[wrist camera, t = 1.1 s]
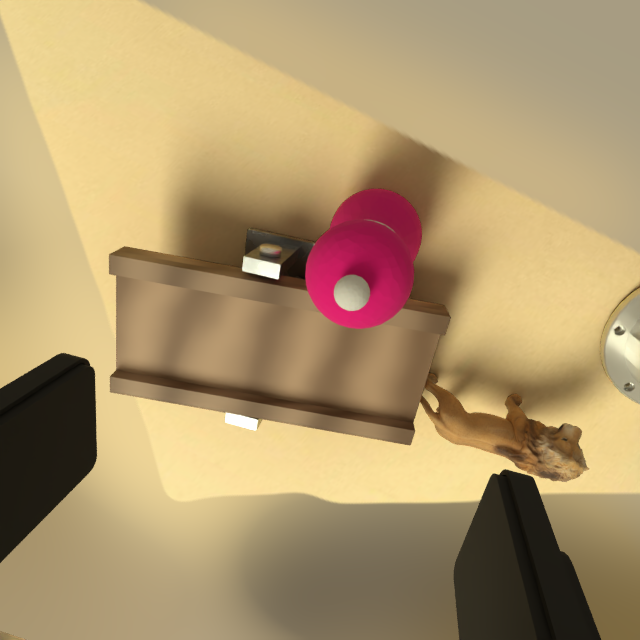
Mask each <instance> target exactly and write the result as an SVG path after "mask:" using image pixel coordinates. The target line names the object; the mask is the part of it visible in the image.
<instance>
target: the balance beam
mask: <svg viewBox="0 0 640 640" xmlns="http://www.w3.org/2000/svg"><path fill="white" fill-rule="evenodd" d="M109 274H111V275H116V367H117V368H116V371H115V372H114V373H113V374H112V375H111V376H110V392H112V393H118V394H123V395H129V396H134V397H140V398H146V399H151V400H157V401H163V402H168V403H174V404H180V405H185V406H191V407H196V408H202V409H208V410H213V411H219V412H225V413H230V414H236V415H242V416H247V417H253V418H259V419H264V420H270V421H275V422H281V423H287V424H292V425H298V426H304V427H309V428H315V429H321V430H326V431H332V432H338V433H343V434H349V435H355V436H360V437H366V438H371V439H377V440H383V441H388V442H394V443H400V444H405V445H411V442H412V439H413V436H414V433H415V428H414V424H413V422H414V419H415V415H416V412H417V409H418V406H419V402H420V399H421V396H422V393H423V389H424V386H425V383H426V380H427V377H428V373H429V370H430V367H431V364H432V360H433V357H434V354H435V351H436V347H437V344H438V341H439V338H440V335H445V334H446V331H447V328H448V324H449V321H450V318H451V317H450V315H449V313H448V312H447V310H446V308H445V306H444V305H441V304H435V303H430V302H424V301H419V300H414V299H408V300H407V302H406V303H405V305H404V306H403V307H402V309H401V310H400V311H399V312H398V313H397V314H396V315H395V316H394V317H393V318H391V319H389V320H388V321H386V322H384V323H383V324H381V325H378V326H375V327H371V328H364V329H355V328H348V327H344V326H341V325H338V324H336V323H334V322H332V321H331V320H329V319H328V318H326V317H325V316H324V315H323V314H322V313H321V312H320V311H319V310H318V309H317V307H316V306H315V305H314V303H313V302H312V299H311V297H310V295H309V293H308V290H307V286H306V280H305V279H299V278H294V277H288V276H283V275H282V276H281V277H280V278H279V279H275V278H270V277H266V276H262V275H257V274H253V273H249V272H244V271H242V268H240V267H234V266H229V265H223V264H218V263H212V262H207V261H202V260H196V259H191V258H185V257H180V256H174V255H169V254H163V253H158V252H153V251H147V250H142V249H136V248H131V247H125V246H124V247H123V248H121V249H119V250H117V251H115V252H113V253H111V254H109Z"/></svg>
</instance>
